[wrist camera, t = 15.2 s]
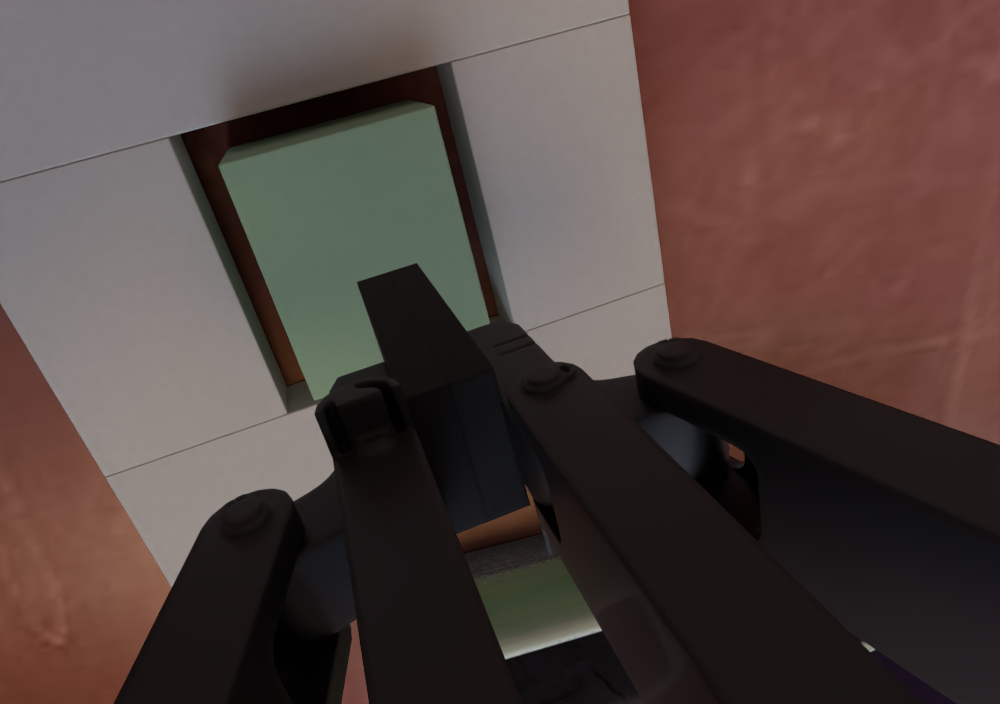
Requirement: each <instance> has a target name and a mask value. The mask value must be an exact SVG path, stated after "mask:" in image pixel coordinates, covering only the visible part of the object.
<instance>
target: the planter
mask: <svg viewBox="0 0 1000 704" xmlns="http://www.w3.org/2000/svg"><path fill="white" fill-rule="evenodd" d="M553 548H554V546H553ZM554 553H555V554H554V555H552V556H548V553H547V549H546V545H545V541H544V537H543V534H540V535H536V536H532V537H528V538H524V539H520V540H516V541H512V542H508V543H504V544H500V545H496V546H492V547H488V548H484V549H480V550H475V551H471V552H467V553H464V555H465V558H466V560H467V563H468V565H469V568H470V570H471V573H472V576H473V578H474V581H475V583H476V586H477V588H478V591H479V593H480V596H481V599H482V601H483V604H484V606H485V609H486V611H487V614H488V616H489V619H490V621H491V624H492V627H493V629H494V632H495V634H496V637H497V639H498V642H499V644H500V647H501V649H502V652H503V655H504V657H505V660H506V662H507V665H508V667H509V670H510V672H511V675H512V678H513V680H514V683H515V685H516V688H517V690H518V693H519V695H520V698H521V700H522V703H523V704H644V702H643V700H642V699H641V697H640V695H639V693H638V692H637V690H636V688H635V687H634V685H633V683H632V681H631V680H630V678H629V676H628V674H627V673H626V671H625V669H624V668H623V666H622V664H621V662H620V661H619V659H618V657H617V655H616V654H615V652H614V650H613V648H612V647H611V645H610V643H609V642H608V640H607V638H606V636H605V635H604V633H603V631H602V629H601V628H600V626H599V624H598V622H597V621H596V619H595V617H594V616H593V614H592V612H591V610H590V609H589V607H588V605H587V603H586V602H585V600H584V598H583V597H582V595H581V593H580V591H579V590H578V588H577V586H576V584H575V583H574V581H573V579H572V577H571V576H570V574H569V572H568V571H567V569H566V567H565V565H564V564H563V562H562V560H561V558H560V557H559V555H558V553H557V551H556V550H555V548H554ZM851 634H852V633H851ZM852 635H853V634H852ZM853 636H855V635H853ZM855 637H856V636H855ZM856 638H857V639H858V640H859V641H860V642H861V643H862V644H863V645H864V646H865V647H866V648H867V649H868V650H869V651H870V652H871V651H874V650H876V649H874V648H873V647H871V646H870V645H868V644H867V643H865V642H864V641H862V640H861V639H859V638H858V637H856Z"/></svg>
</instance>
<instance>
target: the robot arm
mask: <svg viewBox="0 0 1000 704" xmlns="http://www.w3.org/2000/svg"><path fill="white" fill-rule="evenodd" d="M357 285H358V288H359V290H360V293H361V296H362V299H363V302H364V305H365V308H366V311H367V314H368V317H369V319H370V322H371V325H372V328H373V331H374V334H375V337H376V340H377V343H378V346H379V348H380V351H381V354H382V357H383V360H384V362H381V363H378V364H375V365H372V366H370V367H367V368H364V369H361V370H358V371H355V372H352V373H349V374H346V375H343V376H340V377H338V378H337V379H336V381H335V383H334V384H333V386H332V388H331V390H330V391H329V393H330V394H328V395H327V396H325V397H324V398H323V399H322V400H321V401H320V403H319V404H318V405H317V406H316V410H315V414H314V415H315V417H316V420H317V422H318V424H319V427H320V429H321V432H322V434H323V437H324V439H325V441H326V444H327V446H328V449H329V451H330V454H331V456H332V458H333V464H334V471H333V472H332V474H331V475H330V476H329V477H328V478H327V479H326V480H325V481H324V482H323V483H321V484H320V485H319V486H318V487H316V488H315V489H313V490H312V491H310V492H309V493H307V494H305V495H304V496H302V497H300V498H298V499H297V500H295V501H293V500H292V498H291V497H290V496H289V495H288V493H287V492H286V491H283V490H279V489H274V488H272V489H263V490H257V491H254V492H251V493H248V494H243V495H241V496H239V497H236V498H235V499H234V500H233V499H232V500H231V501H229V502H228V503H226V504H225V505H224V506H223V507H221V508H220V509H219V510H218V511H217V512H215V513H214V514H213V515H212V516H211V517H210V518H209V519H208V521H207V522H206V523H205V525H204V526H203V527H202V529H201V530H200V532H199V534H198V536H197V538H196V540H195V542H194V544H193V546H192V548H191V550H190V552H189V554H188V556H187V558H186V560H185V562H184V564H183V566H182V568H181V570H180V572H179V574H178V576H177V578H176V580H175V582H174V584H173V586H172V588H171V590H170V592H169V594H168V596H167V598H166V600H165V602H164V604H163V606H162V608H161V610H160V612H159V614H158V616H157V618H156V620H155V622H154V624H153V626H152V628H151V630H150V632H149V634H148V636H147V638H146V640H145V642H144V644H143V646H142V648H141V650H140V652H139V654H138V656H137V658H136V660H135V662H134V664H133V666H132V668H131V670H130V672H129V674H128V676H127V678H126V680H125V682H124V684H123V686H122V688H121V690H120V692H119V694H118V696H117V698H116V700H115V702H114V704H341V701H342V695H343V689H344V683H345V677H346V671H347V665H348V659H349V652H350V646H351V640H352V636H351V626H350V623H351V622H353V621H354V620H356V619H357V625H358V632H359V638H360V645H361V652H362V658H363V665H364V672H365V679H366V685H367V692H368V699H369V704H523V703H522V700H521V698H520V695H519V693H518V690H517V688H516V685H515V683H514V680H513V678H512V675H511V672H510V670H509V667H508V665H507V662H506V660H505V657H504V655H503V652H502V649H501V647H500V644H499V642H498V639H497V637H496V634H495V632H494V629H493V627H492V624H491V621H490V619H489V616H488V614H487V611H486V609H485V606H484V604H483V601H482V599H481V596H480V593H479V591H478V588H477V586H476V583H475V581H474V578H473V576H472V573H471V570H470V568H469V565H468V563H467V560H466V558H465V555H464V553H463V550H462V548H461V545H460V542H459V540H458V537H457V535H456V534H458V533H460V532H463V531H465V530H468V529H470V528H473V527H476V526H478V525H481V524H483V523H486V522H488V521H491V520H493V519H496V518H498V517H501V516H503V515H506V514H509V513H511V512H514V511H516V510H519V509H521V508H524V507H526V506H529V505H530V502H529V499H528V495H527V491H526V487H525V485H526V486H527V488H528V490H529V491H530V493H531V495H532V496H533V499H534V503H535V507H536V510H537V514H538V518H539V522H540V526H541V530H542V533H543V537H544V541H545V545H546V549H547V553H548V556H552V555H554V554H555V553H554V548H555V550H556V551H557V553H558V555H559V557H560V558H561V560H562V562H563V564H564V565H565V567H566V569H567V571H568V572H569V574H570V576H571V577H572V579H573V581H574V583H575V584H576V586H577V588H578V590H579V591H580V593H581V595H582V597H583V598H584V600H585V602H586V603H587V605H588V607H589V609H590V610H591V612H592V614H593V616H594V617H595V619H596V621H597V622H598V624H599V626H600V628H601V629H602V631H603V633H604V635H605V636H606V638H607V640H608V642H609V643H610V645H611V647H612V648H613V650H614V652H615V654H616V655H617V657H618V659H619V661H620V662H621V664H622V666H623V668H624V669H625V671H626V673H627V674H628V676H629V678H630V680H631V681H632V683H633V685H634V687H635V688H636V690H637V692H638V693H639V695H640V697H641V699H642V700H643V702H644V704H924V703H923V702H921V701H920V700H919V699H918V698H917V697H916V696H915V695H914V694H913V693H912V692H911V691H909V690H908V689H907V688H906V687H905V686H904V685H903V684H902V683H901V682H900V681H899V680H898V679H897V678H896V677H895V676H894V675H893V674H892V673H891V672H890V671H889V670H888V669H887V668H886V667H885V666H884V665H883V664H882V663H881V662H880V661H879V660H878V659H877V658H876V657H875V656H874V655H873V654H872V653H871V652H870V651H869V650H868V649H867V648H866V647H865V646H864V645H863V644H862V643H861V642H860V641H859V640H858V639H857V638H856V637H858V638H859V639H861V640H862V641H864V642H865V643H867V644H868V645H870V646H871V647H873V648H874V649H876V650H877V651H879V652H880V653H882V654H883V655H885V656H886V657H888V658H889V659H891V660H892V661H894V662H895V663H897V664H898V665H900V666H901V667H903V668H904V669H906V670H907V671H909V672H910V673H912V674H913V675H915V676H916V677H917V678H919V679H920V680H922V681H923V682H925V683H926V684H928V685H929V686H931V687H932V688H934V689H935V690H937V691H938V692H940V693H941V694H943V695H944V696H946V697H947V698H949V699H950V700H952V701H953V702H955V703H956V704H1000V445H998V444H995V443H992V442H990V441H987V440H984V439H981V438H978V437H975V436H973V435H970V434H967V433H964V432H961V431H958V430H956V429H953V428H950V427H947V426H944V425H941V424H939V423H936V422H933V421H930V420H927V419H924V418H922V417H919V416H916V415H913V414H910V413H908V412H905V411H902V410H899V409H896V408H893V407H891V406H888V405H885V404H882V403H879V402H876V401H874V400H871V399H868V398H865V397H862V396H859V395H857V394H854V393H851V392H848V391H845V390H842V389H840V388H837V387H834V386H831V385H828V384H826V383H823V382H820V381H817V380H814V379H811V378H809V377H806V376H803V375H800V374H797V373H794V372H792V371H789V370H786V369H783V368H780V367H777V366H775V365H772V364H769V363H766V362H763V361H760V360H758V359H755V358H752V357H749V356H746V355H743V354H741V353H738V352H735V351H732V350H729V349H727V348H724V347H721V346H718V345H715V344H712V343H710V342H707V341H702V340H698V339H693V338H669V340H667V339H665V340H661V341H658V342H657V343H655V344H652V345H650V346H647V347H646V348H644V349H643V350H642V351H640V352H639V353H637V355H636V357H635V359H634V361H633V363H634V369H635V375H630V376H624V377H619V378H613V379H605V380H593V379H592V378H591V377H590V376H589V375H588V374H587V373H586V372H585V371H584V370H583V369H582V368H580V367H578V366H576V365H574V364H571V363H565V362H554V361H553V360H552V359H551V358H550V357H549V356H548V355H547V354H546V353H545V352H544V350H543V349H542V348H541V347H540V346H539V345H538V344H536V343H535V341H534V340H533V339H532V338H531V337H530V336H528V334H527V333H526V332H525V331H524V330H523V329H522V327H521V326H520V325H519V324H515V323H512V322H508V321H505V320H499V321H496V322H493V323H490V324H487V325H484V326H481V327H478V328H475V329H472V330H469V331H466V329H465V328H464V327H463V325H462V324H461V323H460V321H459V320H458V319H457V317H456V316H455V314H454V313H453V312H452V310H451V309H450V308H449V306H448V305H447V303H446V302H445V301H444V299H443V298H442V297H441V295H440V294H439V293H438V291H437V290H436V288H435V287H434V286H433V284H432V283H431V282H430V280H429V279H428V278H427V276H426V275H425V273H424V272H423V271H422V269H421V268H420V267H419V265H418V264H417V263H415V264H412V265H409V266H406V267H402V268H399V269H396V270H393V271H390V272H387V273H383V274H380V275H377V276H374V277H371V278H368V279H365V280H361V281H358V282H357ZM728 443H730V444H732V445H734V446H736V447H737V448H739V449H740V450H742V451H743V452H744V453H745V462H742V461H739V460H737V459H735V458H733V457H731V456H729V446H728ZM524 483H525V484H524ZM553 546H554V548H553ZM851 633H852V634H853V635H855V636H856V637H855V636H853V635H852V634H851Z"/></svg>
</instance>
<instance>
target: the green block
mask: <svg viewBox="0 0 1000 704" xmlns="http://www.w3.org/2000/svg"><path fill="white" fill-rule="evenodd" d="M219 169H220V171H221V174H222V176H223V179H224V181H225V184H226V186H227V189H228V191H229V194H230V196H231V198H232V201H233V203H234V206H235V208H236V211H237V213H238V216H239V218H240V221H241V223H242V225H243V228H244V230H245V233H246V235H247V238H248V240H249V243H250V245H251V248H252V250H253V252H254V255H255V257H256V260H257V262H258V265H259V267H260V270H261V272H262V275H263V277H264V280H265V282H266V284H267V287H268V289H269V292H270V294H271V297H272V299H273V302H274V304H275V307H276V309H277V311H278V314H279V316H280V319H281V321H282V324H283V326H284V329H285V331H286V334H287V336H288V338H289V341H290V343H291V346H292V348H293V351H294V353H295V356H296V358H297V361H298V363H299V365H300V368H301V370H302V373H303V375H304V378H305V380H306V383H307V385H308V388H309V390H310V393H311V395H312V397H313V400H318V399H321V398H324V397H325V396H327V395H328V394H330V393H329V391H330V390H331V388H332V386H333V384H334V383H335V381H336V379H337V378H338V377H340V376H343V375H346V374H349V373H352V372H355V371H358V370H361V369H364V368H367V367H370V366H372V365H375V364H378V363H381V362H384V360H383V357H382V354H381V351H380V348H379V346H378V343H377V340H376V337H375V334H374V331H373V328H372V325H371V322H370V319H369V317H368V314H367V311H366V308H365V305H364V302H363V299H362V296H361V293H360V290H359V288H358V285H357V282H358V281H361V280H365V279H368V278H371V277H374V276H377V275H380V274H383V273H387V272H390V271H393V270H396V269H399V268H402V267H406V266H409V265H412V264H415V263H417V264H418V265H419V267H420V268H421V269H422V271H423V272H424V273H425V275H426V276H427V278H428V279H429V280H430V282H431V283H432V284H433V286H434V287H435V288H436V290H437V291H438V293H439V294H440V295H441V297H442V298H443V299H444V301H445V302H446V303H447V305H448V306H449V308H450V309H451V310H452V312H453V313H454V314H455V316H456V317H457V319H458V320H459V321H460V323H461V324H462V325H463V327H464V328H465V329H466V331H469V330H472V329H475V328H478V327H481V326H484V325H487V324H490V321H489V317H488V313H487V309H486V305H485V301H484V297H483V293H482V289H481V285H480V282H479V278H478V274H477V270H476V266H475V262H474V258H473V254H472V250H471V247H470V243H469V239H468V235H467V231H466V227H465V223H464V219H463V215H462V212H461V208H460V204H459V200H458V196H457V192H456V188H455V184H454V180H453V176H452V173H451V169H450V165H449V161H448V157H447V153H446V149H445V145H444V141H443V138H442V134H441V130H440V126H439V122H438V118H437V114H436V110H435V107H434V106H433V105H429V104H425V103H420V102H416V101H411V100H404V101H400V102H397V103H393V104H389V105H385V106H382V107H378V108H374V109H371V110H367V111H363V112H360V113H356V114H352V115H349V116H345V117H341V118H338V119H334V120H330V121H327V122H323V123H319V124H316V125H312V126H308V127H305V128H301V129H297V130H294V131H290V132H286V133H283V134H279V135H275V136H272V137H268V138H264V139H261V140H257V141H253V142H250V143H246V144H242V145H239V146H235V147H231V148H229V149H228V150H227V151H226V153H225V155H224V157H223V158H222V160H221V162H220V163H219Z"/></svg>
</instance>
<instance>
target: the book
mask: <svg viewBox="0 0 1000 704" xmlns="http://www.w3.org/2000/svg"><path fill="white" fill-rule="evenodd" d="M871 653H872V654H873V655H874V656H875V657H876V658H877V659H878V660H879V661H880V662H881V663H882V664H883V665H884V666H885V667H886V668H887V669H888V670H889V671H890V672H891V673H892V674H893V675H894V676H895V677H896V678H897V679H898V680H899V681H900V682H901V683H902V684H903V685H904V686H905V687H906V688H907V689H908V690H909V691H911V692H912V693H913V694H914V695H915V696H916V697H917V698H918V699H919V700H920V701H921V702H923V703H924V704H956V703H955V702H953V701H952V700H950V699H949V698H947V697H946V696H944V695H943V694H941V693H940V692H938V691H937V690H935V689H934V688H932V687H931V686H929V685H928V684H926V683H925V682H923V681H922V680H920V679H919V678H917V677H916V676H915V675H913V674H912V673H910V672H909V671H907V670H906V669H904V668H903V667H901V666H900V665H898V664H897V663H895V662H894V661H892V660H891V659H889V658H888V657H886V656H885V655H883V654H882V653H880V652H879V651H877V650H874V651H871Z"/></svg>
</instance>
